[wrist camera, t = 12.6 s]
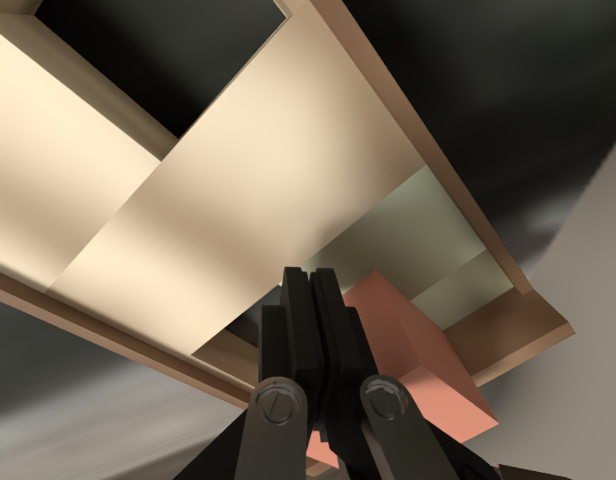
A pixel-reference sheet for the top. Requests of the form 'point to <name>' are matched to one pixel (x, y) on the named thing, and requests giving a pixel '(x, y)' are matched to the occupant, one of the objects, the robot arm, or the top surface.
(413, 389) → the block
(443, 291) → the board
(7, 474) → the top surface
